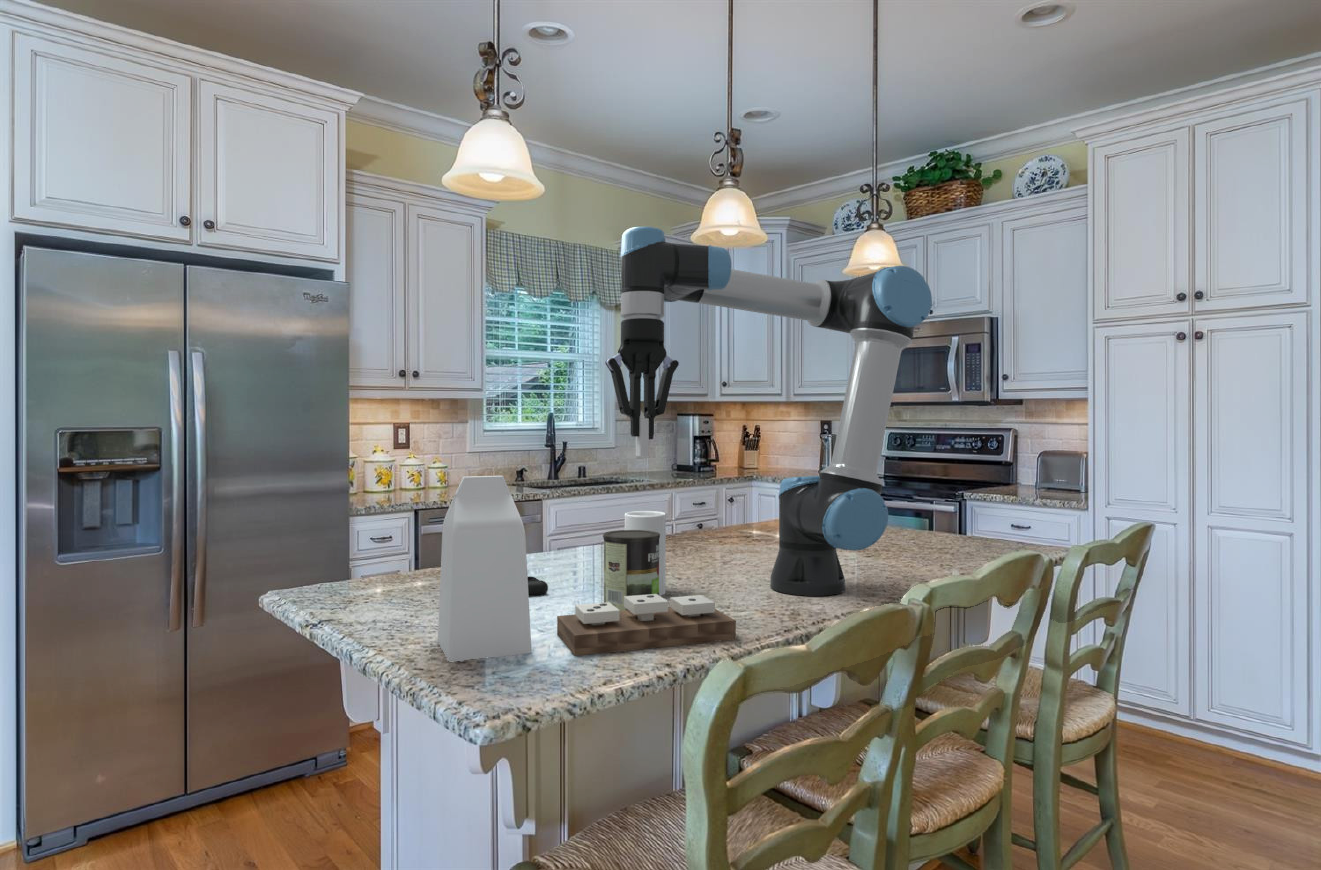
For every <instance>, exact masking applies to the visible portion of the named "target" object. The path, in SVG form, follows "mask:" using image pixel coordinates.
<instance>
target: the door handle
mask: <svg viewBox="0 0 1321 870" xmlns="http://www.w3.org/2000/svg"><path fill="white" fill-rule="evenodd" d="M548 590H549V585H548V584H547V582H546V581H545V580H540V579H538V578H537V577H536V576H535V577H534V576H531V575H530V576H529V575H528V594H529V597H536V596H537V597H538V596H544V595H546V594H547V593H548Z"/></svg>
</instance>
